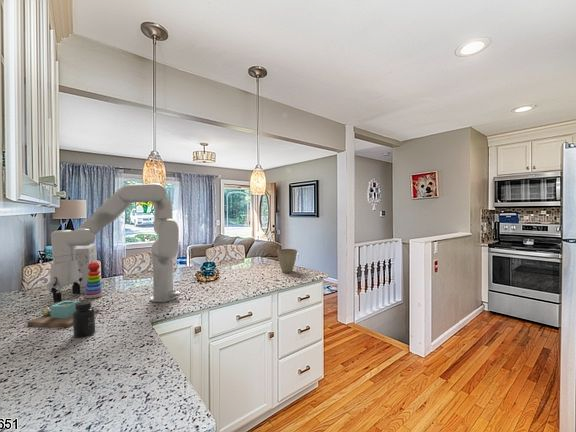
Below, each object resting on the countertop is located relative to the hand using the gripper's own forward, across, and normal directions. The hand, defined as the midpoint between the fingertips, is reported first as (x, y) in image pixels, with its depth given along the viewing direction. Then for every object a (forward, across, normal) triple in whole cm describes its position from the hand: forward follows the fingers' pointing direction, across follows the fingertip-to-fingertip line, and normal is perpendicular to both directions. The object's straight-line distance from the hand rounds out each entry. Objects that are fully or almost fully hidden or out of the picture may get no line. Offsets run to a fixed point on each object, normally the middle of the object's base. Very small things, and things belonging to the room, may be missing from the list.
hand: (67, 297), depth 121 cm
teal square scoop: (+7, +1, -4) cm, 8 cm away
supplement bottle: (+9, +14, +19) cm, 25 cm away
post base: (+9, +1, -1) cm, 9 cm away
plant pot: (+14, -92, +90) cm, 129 cm away
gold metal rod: (+7, +2, -8) cm, 11 cm away
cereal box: (+10, -43, -27) cm, 51 cm away
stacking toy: (+10, -27, -10) cm, 31 cm away
